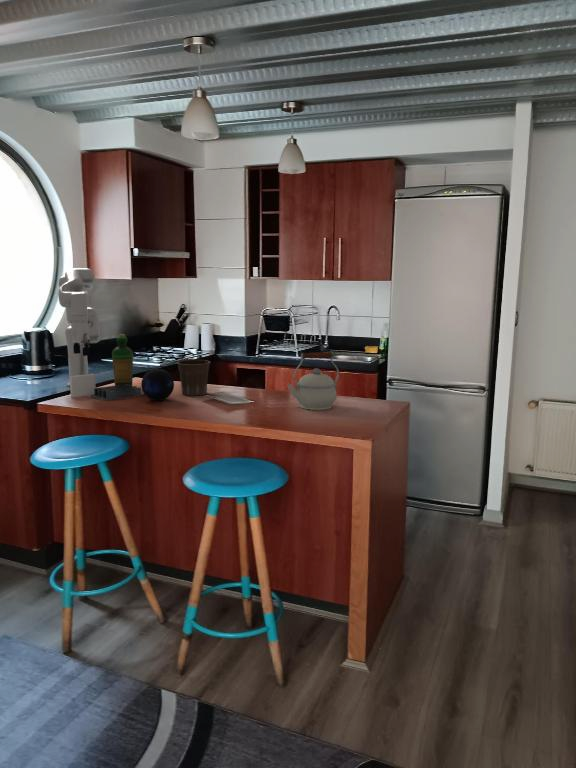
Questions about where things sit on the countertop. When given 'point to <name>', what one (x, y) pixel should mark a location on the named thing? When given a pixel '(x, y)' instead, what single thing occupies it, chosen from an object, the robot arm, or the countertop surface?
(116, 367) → the bottle
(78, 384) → the small white box
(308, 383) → the kettle
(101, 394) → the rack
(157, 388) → the decorative sphere
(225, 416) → the countertop surface
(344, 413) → the countertop surface
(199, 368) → the plant pot
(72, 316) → the robot arm
